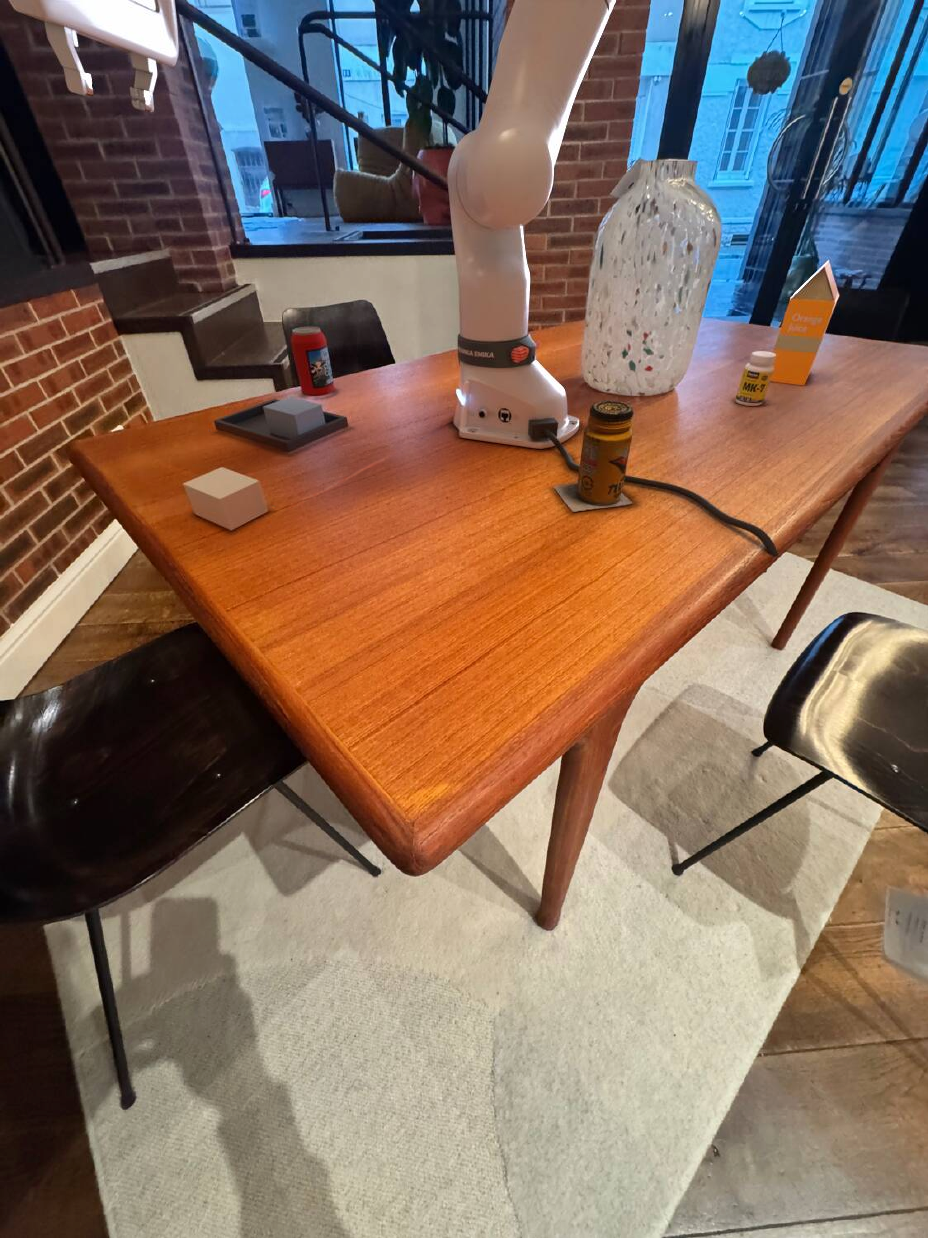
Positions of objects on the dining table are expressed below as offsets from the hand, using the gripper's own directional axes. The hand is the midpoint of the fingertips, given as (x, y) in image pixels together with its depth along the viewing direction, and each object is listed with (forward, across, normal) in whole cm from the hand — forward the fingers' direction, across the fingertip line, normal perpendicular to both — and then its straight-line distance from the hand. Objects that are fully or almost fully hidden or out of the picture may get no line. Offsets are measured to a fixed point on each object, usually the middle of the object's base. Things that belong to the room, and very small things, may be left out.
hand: (114, 102), depth 58 cm
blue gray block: (+37, +14, -15) cm, 43 cm away
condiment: (+28, -1, -65) cm, 71 cm away
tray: (+39, +16, -11) cm, 43 cm away
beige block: (+39, -14, -19) cm, 45 cm away
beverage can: (+38, +36, -9) cm, 53 cm away
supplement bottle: (+19, +41, -92) cm, 102 cm away
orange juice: (+15, +58, -102) cm, 118 cm away
